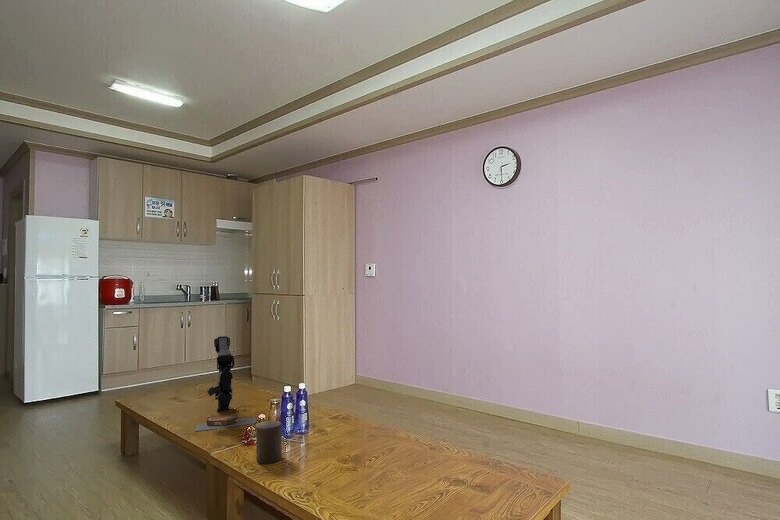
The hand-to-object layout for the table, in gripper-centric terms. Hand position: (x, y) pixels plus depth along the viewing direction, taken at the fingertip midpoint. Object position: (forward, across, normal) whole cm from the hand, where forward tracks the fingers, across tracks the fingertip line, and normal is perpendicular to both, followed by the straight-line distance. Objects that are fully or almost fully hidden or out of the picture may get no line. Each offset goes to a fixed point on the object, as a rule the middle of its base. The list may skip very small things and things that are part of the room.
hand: (225, 410), depth 225 cm
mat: (+7, +2, 0) cm, 7 cm away
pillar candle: (+7, +55, +17) cm, 58 cm away
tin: (+5, -5, 0) cm, 7 cm away
